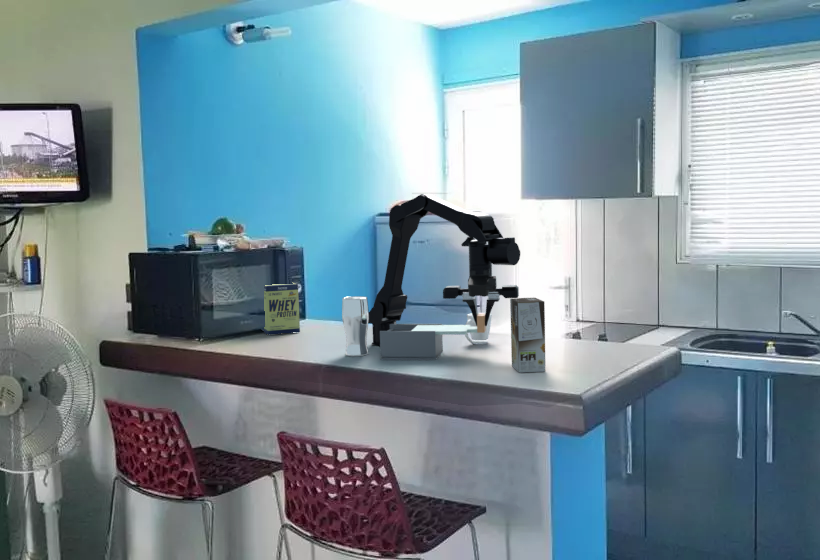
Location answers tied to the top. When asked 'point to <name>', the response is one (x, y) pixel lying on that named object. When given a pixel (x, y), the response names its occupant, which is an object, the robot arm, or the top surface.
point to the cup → (478, 336)
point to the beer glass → (355, 324)
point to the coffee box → (528, 334)
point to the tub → (409, 343)
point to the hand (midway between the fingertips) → (481, 325)
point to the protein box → (281, 308)
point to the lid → (455, 327)
